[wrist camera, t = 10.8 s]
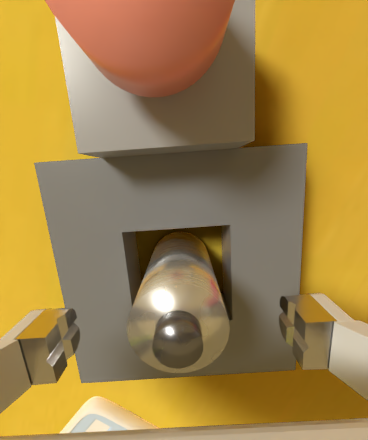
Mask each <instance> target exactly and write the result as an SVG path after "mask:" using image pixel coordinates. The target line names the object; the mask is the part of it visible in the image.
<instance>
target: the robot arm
mask: <svg viewBox="0 0 368 440" xmlns="http://www.w3.org/2000/svg"><path fill="white" fill-rule="evenodd" d="M280 307H281V309H282V310H283V312H282V313H281V314H280V315H279V326H280V331H281V333H282V336H283V338H284V340H285V341H286V343H288V344H289V345H291V346H292V347H293V348H292V353H293V355H294V357H295V358H296V360H297V361H298V363H299V365H300V366H301V368H302V370H311V369H329V371H330V372H331V373H332V374H334V375H335V376H336V377H338V378H339V379H340V380H342V381H343V382H344V383H345V384H347V385H348V386H349V387H351V388H352V389H353V390H355V391H356V392H357V393H358V394H360V395H361V396H362V397H364V398H365V399H366V400H368V324H367V323H364V322H362V321H359V320H356V321H354V320H353V319H352V318H351V317H350V316H349V315H347V314H346V313H345V312H344V311H343V310H342V309H341V308H339V307H338V306H337V305H336V304H335V303H334V302H333V301H331V300H330V299H329V298H328V297H327V296H326V295H324V294H322V293H313V294H304V295H291V296H281V298H280ZM76 318H77V315H76V312H75V310H74V309H73V308H62V309H39V310H33V311H31V312H29V313H28V314H27V315H26V316H25V317H24V318H23V319H22V320H21V321H20V322H18V323H17V324H16V325H15V326H14V327H13V328H12V329H11V330H10V331H9V332H7V333H6V334H5V335H4V336H3V337H2V338H1V339H0V413H1V412H3V411H4V410H5V409H6V408H7V407H8V406H10V405H11V404H12V403H13V402H14V401H15V400H16V399H18V398H19V397H20V396H21V395H22V394H23V393H24V392H26V391H27V390H28V389H29V388H30V387H31V385H38V384H49V383H57V381H58V380H59V378H60V376H61V375H62V373H63V372H64V370H65V368H66V367H67V359H68V358H70V357H71V356H72V355H74V353H75V351H76V350H77V348H78V345H79V341H80V330H79V327H78V326H77V325H76V324H75V323H74V322H75V320H76ZM0 440H368V418H358V419H338V420H318V421H298V422H278V423H258V424H238V425H218V426H198V427H178V428H158V429H139V430H119V431H99V432H79V433H60V434H40V435H20V436H0Z"/></svg>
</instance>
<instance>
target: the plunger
mask: <svg viewBox="0 0 368 440" xmlns="http://www.w3.org/2000/svg"><path fill="white" fill-rule="evenodd" d="M45 1H46V3H47V4H48V6H49V8H50V9H51V11H52V13H53V14H54V15H55V17H56V18H57V19H58V20H59V22H60V23H61V24H62V26H63V27H64V28H65V29H66V31H67V32H68V33H69V34H70V36H71V37H72V38H73V39H74V40H75V42H76V43H77V44H78V45H79V47H80V48H81V49H82V50H83V52H84V53H85V54H86V55H87V56H88V58H89V59H90V60H91V61H92V63H93V64H94V65H95V66H96V68H97V69H98V70H99V71H100V72H101V73H102V74H103V75H104V76H105V77H106V78H107V79H108V80H109V81H111V82H112V83H113V84H114V85H116V86H118V87H119V88H121V89H122V90H125V91H127V92H129V93H132V94H135V95H138V96H144V97H164V96H169V95H173V94H176V93H178V92H181V91H183V90H185V89H187V88H188V87H190V86H191V85H193V84H194V83H195V82H196V81H198V80H199V79H200V78H201V77H202V76H203V75H204V74H205V73H206V71H207V70H208V69H209V67H210V66H211V65H212V63H213V62H214V60H215V58H216V56H217V54H218V52H219V50H220V47H221V44H222V42H223V38H224V35H225V32H226V28H227V25H228V22H229V18H230V15H231V12H232V8H233V5H234V2H235V0H45Z"/></svg>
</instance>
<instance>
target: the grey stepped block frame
mask: <svg viewBox="0 0 368 440" xmlns="http://www.w3.org/2000/svg"><path fill="white" fill-rule="evenodd" d="M55 19H56V25H57V31H58V37H59V43H60V49H61V55H62V61H63V67H64V73H65V78H66V84H67V90H68V96H69V102H70V108H71V114H72V120H73V126H74V132H75V137H76V143H77V149H78V153H79V154H84V155H89V156H95V157H100V158H94V159H80V160H66V161H53V162H39V163H34V164H35V169H36V173H37V178H38V183H39V187H40V192H41V197H42V201H43V206H44V211H45V216H46V220H47V225H48V230H49V234H50V239H51V244H52V248H53V253H54V258H55V262H56V267H57V272H58V276H59V281H60V286H61V290H62V295H63V300H64V304H65V308H73V309H74V310H75V312H76V315H77V318H76V320H75V322H74V323H75V324H76V325H77V326H78V327H79V330H80V341H79V345H78V348H77V350H76V351H75V356H76V360H77V365H78V370H79V374H80V379H81V383H92V382H108V381H124V380H140V379H157V378H173V377H189V376H205V375H222V374H238V373H254V372H270V371H287V370H295V368H296V358H295V357H294V355H293V353H292V348H293V347H292V346H291V345H289V344H288V343H286V341H285V340H284V338H283V336H282V333H281V331H280V326H279V315H280V314H281V313H282V312H283V310H282V309H281V307H280V298H281V296H291V295H299V293H300V274H301V255H302V236H303V217H304V198H305V179H306V160H307V143H302V144H288V145H274V146H260V147H246V148H240V147H242V146H244V145H246V144H248V143H250V142H253V141H255V0H235V2H234V5H233V8H232V12H231V15H230V18H229V22H228V25H227V28H226V32H225V35H224V38H223V42H222V44H221V47H220V50H219V52H218V54H217V56H216V58H215V60H214V62H213V63H212V65H211V66H210V67H209V69H208V70H207V71H206V73H205V74H204V75H203V76H202V77H201V78H200V79H199V80H198V81H196V82H195V83H194V84H193V85H191V86H190V87H188V88H187V89H185V90H183V91H181V92H178V93H176V94H173V95H169V96H164V97H144V96H138V95H135V94H132V93H129V92H127V91H125V90H122V89H121V88H119V87H118V86H116V85H114V84H113V83H112V82H111V81H109V80H108V79H107V78H106V77H105V76H104V75H103V74H102V73H101V72H100V71H99V70H98V69H97V68H96V66H95V65H94V64H93V63H92V61H91V60H90V59H89V58H88V56H87V55H86V54H85V53H84V52H83V50H82V49H81V48H80V47H79V45H78V44H77V43H76V42H75V40H74V39H73V38H72V37H71V36H70V34H69V33H68V32H67V31H66V29H65V28H64V27H63V26H62V24H61V23H60V22H59V20H58V19H57V18H56V17H55ZM207 226H221V236H222V266H223V293H221V296H222V300H223V303H224V306H225V309H226V312H227V316H228V319H229V325H230V333H229V338H228V341H227V344H226V346H225V348H224V350H223V351H222V353H221V354H220V355H219V356H218V357H217V359H215V360H214V361H213V362H212V363H210V364H209V365H207V366H205V367H203V368H201V369H199V370H196V371H192V372H187V373H169V372H164V371H161V370H158V369H155V368H153V367H151V366H150V365H148V364H146V363H145V362H144V361H142V360H141V359H140V358H139V357H138V356H137V355H136V353H135V352H134V351H133V349H132V347H131V345H130V343H129V340H128V336H127V321H128V317H129V314H130V312H131V309H132V306H133V304H134V301H135V299H136V296H137V293H138V291H139V288H140V286H141V283H142V280H141V272H140V264H139V256H138V248H137V240H136V232H135V231H149V230H163V229H178V228H192V227H207Z"/></svg>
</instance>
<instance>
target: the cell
mask: <svg viewBox="0 0 368 440" xmlns="http://www.w3.org/2000/svg"><path fill="white" fill-rule="evenodd" d="M229 333H230V325H229V319H228V316H227V312H226V309H225V306H224V303H223V300H222V296H221V293H220V290H219V287H218V284H217V280H216V277H215V274H214V271H213V268H212V264H211V261H210V258H209V255H208V252H207V249H206V247H205V245H204V243H203V242H202V241H201V240H200V239H199V238H198V237H196V236H195V235H193V234H190V233H187V232H174V233H171V234H168V235H166V236H165V237H163V238H162V239H161V240H160V241H159V242H158V243H157V245H156V247H155V249H154V252H153V254H152V257H151V259H150V262H149V265H148V267H147V270H146V273H145V275H144V278H143V280H142V283H141V286H140V288H139V291H138V293H137V296H136V299H135V301H134V304H133V306H132V309H131V312H130V314H129V317H128V321H127V336H128V340H129V343H130V345H131V347H132V349H133V351H134V352H135V353H136V355H137V356H138V357H139V358H140V359H141V360H142V361H144V362H145V363H146V364H148V365H150V366H151V367H153V368H155V369H158V370H161V371H164V372H169V373H187V372H192V371H196V370H199V369H201V368H203V367H205V366H207V365H209V364H210V363H212V362H213V361H214V360H215V359H217V357H218V356H219V355H220V354H221V353H222V351H223V350H224V348H225V346H226V344H227V341H228V338H229Z"/></svg>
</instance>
